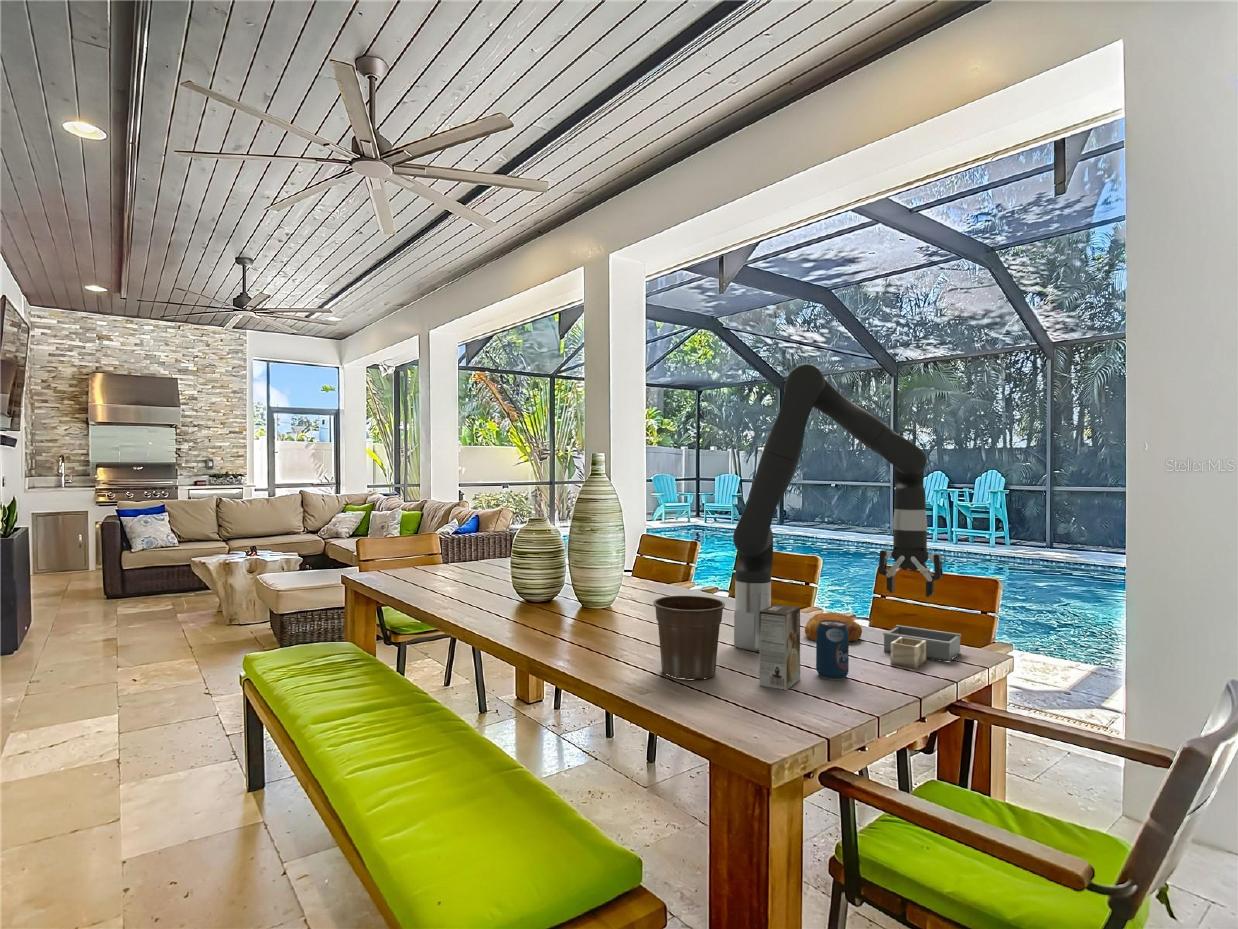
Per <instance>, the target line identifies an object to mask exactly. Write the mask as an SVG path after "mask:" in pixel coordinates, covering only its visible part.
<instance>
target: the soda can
mask: <svg viewBox="0 0 1238 929" xmlns="http://www.w3.org/2000/svg"><path fill="white" fill-rule="evenodd" d="M815 642H816V644H815V650H816V651H815V653H816V654H815V655H816V656H815V662H816V663H815V669H816V672H817V673H818V674H817V675H818V676H819V677H820V678H822V679H824V680H825V679H826V680H829V679H830V681H842V680H844V679H846V677H847V676H848V674H849V670H850V669H849V663H850V662H849V656H850V655H849V651H850V650H849V648H850V646H849V642H850V641H849V632H848V629H847V627H846V623H844V622H841V621H835V620H823V621H820V622H819V626H818V627H817V629H816V641H815Z"/></svg>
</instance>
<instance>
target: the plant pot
mask: <svg viewBox="0 0 1238 929" xmlns="http://www.w3.org/2000/svg"><path fill="white" fill-rule="evenodd" d="M652 605H653V606H654V607H655V618H656V621H657V625H658V626H657V627H658V636H659V650H660V661H661V662H660V664H661V666H660V667H661V672H662V671H663V672H664V673H663V672H662V673H663V674H664V675H665V674H668V675H670V676H673V677H676V678H685V679H695V680H696V679H704V678H707V679H710V678H713V677H714V676H715V675H716V670H717V669H716V668H717V657H718V655H717V654H718V645H719V635H720V626H721V625H720V624H721V623H722V620H723V610H724V608H725V606H726V603H725V601H723V600H720V599H718V598H714V597H707V596H696V595H670V596H662V597H659V598H656V599H654V600H653V604H652ZM704 680H705V679H704Z"/></svg>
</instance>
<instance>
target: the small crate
mask: <svg viewBox="0 0 1238 929" xmlns="http://www.w3.org/2000/svg"><path fill="white" fill-rule="evenodd" d="M925 661H926V662H927V659H926V641H925V640H918V639H912V638H905V637H899V638H898V639H896V640H895V641H893V642H891V653H890V664H891V665H896V666H902V667H908V668H912V667H915V668H914V669H918V668H919V667H921V666H922V665H923V664H924V662H925ZM926 662H925V663H926ZM921 664H922V665H921ZM920 665H921V666H920ZM917 667H918V668H917Z"/></svg>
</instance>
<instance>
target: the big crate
mask: <svg viewBox="0 0 1238 929" xmlns="http://www.w3.org/2000/svg"><path fill="white" fill-rule="evenodd" d="M882 635H883V652H884V653H890V654H891V642H893V641H895V640H896V639H898V638H899V637H905V638H912V639H918V640H925V641H926V660H930V659H934V660H933V661H936V660H941V661H940V662H942V661H951V660H952V658H953V657H955V656H956V655H957V654H959V652H960V653H961V637H962V633H956V632H948V631H941V630H936V629H927V628H920V627H913V626H907V625H899V624H896V625H895V627H894V628H892V629H891V630H889V631H887V632H886V631H883V633H882ZM959 655H960V654H959ZM956 657H957V656H956ZM956 657H955V658H956ZM952 661H953V660H952ZM952 661H951V662H952Z"/></svg>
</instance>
